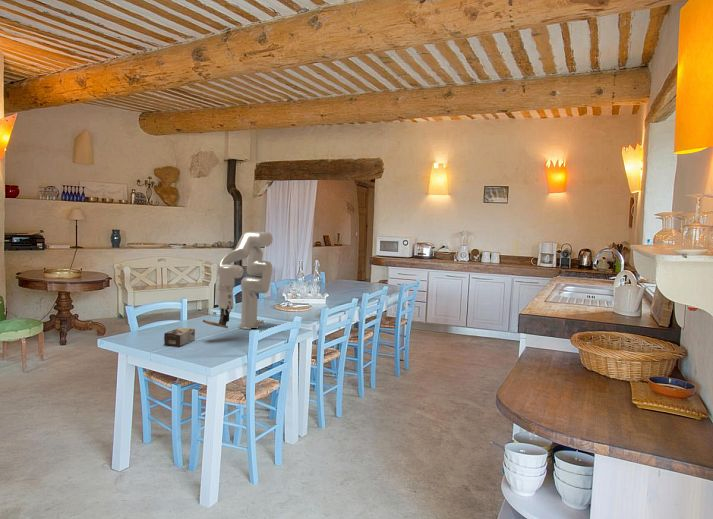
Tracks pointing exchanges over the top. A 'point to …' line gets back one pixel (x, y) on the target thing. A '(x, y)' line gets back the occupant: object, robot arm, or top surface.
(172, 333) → the coffee box
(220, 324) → the brown l-shaped piece
